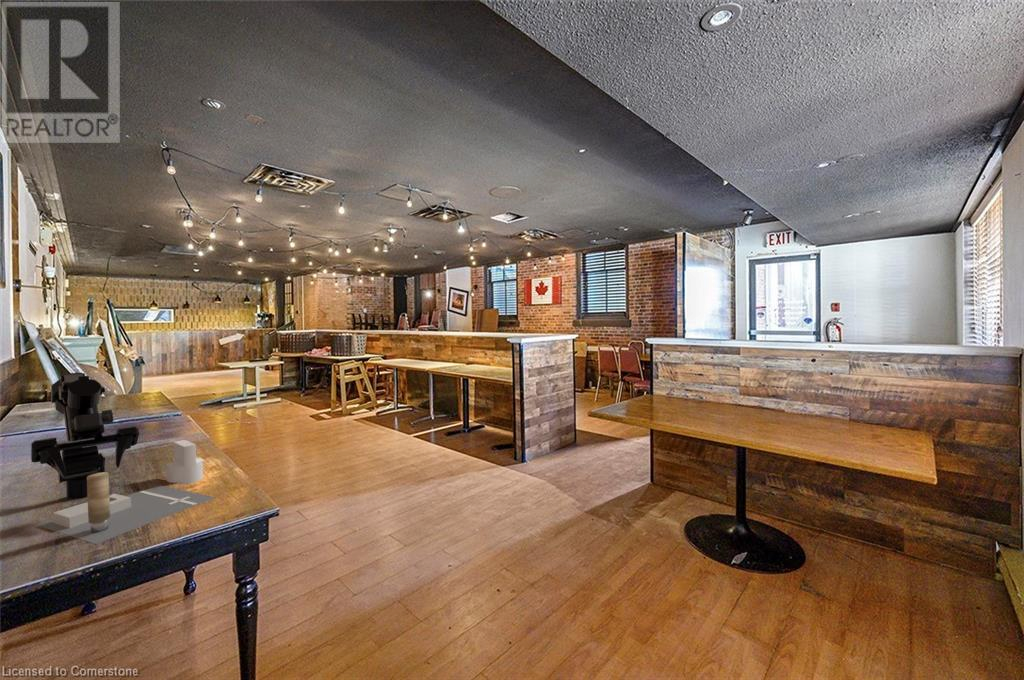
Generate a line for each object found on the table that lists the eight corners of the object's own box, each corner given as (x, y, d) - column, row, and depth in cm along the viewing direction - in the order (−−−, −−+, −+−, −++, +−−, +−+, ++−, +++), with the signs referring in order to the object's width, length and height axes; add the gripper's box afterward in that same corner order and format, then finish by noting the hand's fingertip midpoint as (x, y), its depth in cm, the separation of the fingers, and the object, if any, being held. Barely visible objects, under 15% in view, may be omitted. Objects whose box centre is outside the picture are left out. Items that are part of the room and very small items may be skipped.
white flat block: (53, 522, 100) (52, 512, 100) (114, 502, 111) (114, 493, 111) (69, 528, 98) (69, 517, 98) (131, 506, 109) (130, 497, 109)
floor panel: (36, 529, 99) (35, 524, 99) (159, 489, 123) (159, 484, 123) (95, 549, 91) (95, 543, 91) (215, 501, 115) (215, 497, 115)
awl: (85, 532, 96) (83, 476, 95) (104, 524, 99) (103, 471, 99) (94, 534, 95) (92, 478, 94) (114, 527, 98) (112, 473, 98)
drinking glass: (208, 479, 131) (207, 442, 131) (173, 488, 124) (172, 449, 123) (196, 473, 136) (195, 437, 136) (162, 482, 129) (161, 444, 128)
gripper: (29, 406, 96) (35, 463, 90) (136, 396, 111) (147, 444, 105) (28, 434, 101) (34, 490, 95) (130, 420, 116) (141, 468, 110)
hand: (92, 471), depth 101 cm, fingers open, 9 cm apart
